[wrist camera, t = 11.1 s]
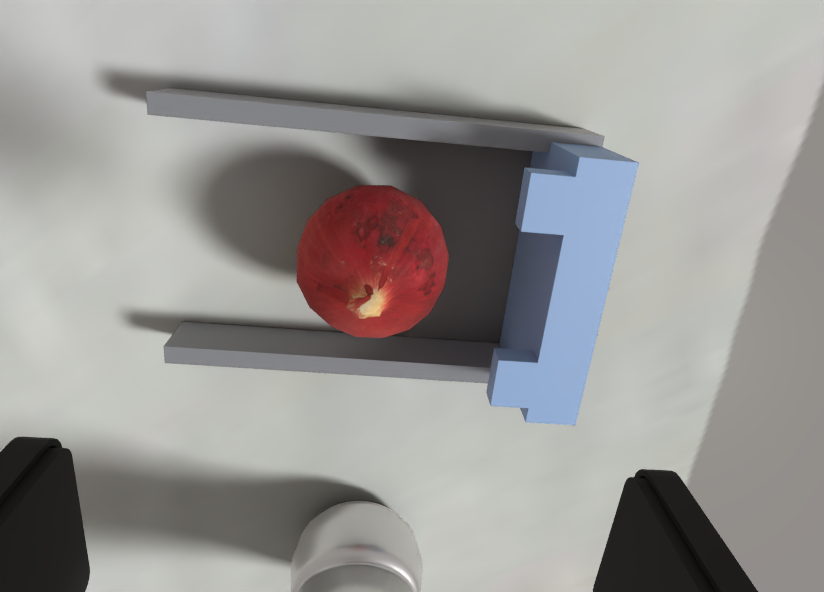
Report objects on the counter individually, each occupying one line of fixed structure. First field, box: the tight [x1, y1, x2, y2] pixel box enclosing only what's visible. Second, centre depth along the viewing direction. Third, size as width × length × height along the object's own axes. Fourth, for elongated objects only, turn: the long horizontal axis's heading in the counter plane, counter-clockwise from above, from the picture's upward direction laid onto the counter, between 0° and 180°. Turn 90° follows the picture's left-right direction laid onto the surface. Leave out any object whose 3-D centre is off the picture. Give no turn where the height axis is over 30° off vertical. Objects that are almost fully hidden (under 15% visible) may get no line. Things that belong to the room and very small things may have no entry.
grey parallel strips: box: [146, 88, 605, 383], centre depth 23 cm, size 21×17×2 cm
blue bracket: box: [487, 142, 639, 425], centre depth 24 cm, size 10×4×6 cm, turn 174°
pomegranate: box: [297, 185, 449, 338], centre depth 22 cm, size 6×6×8 cm
